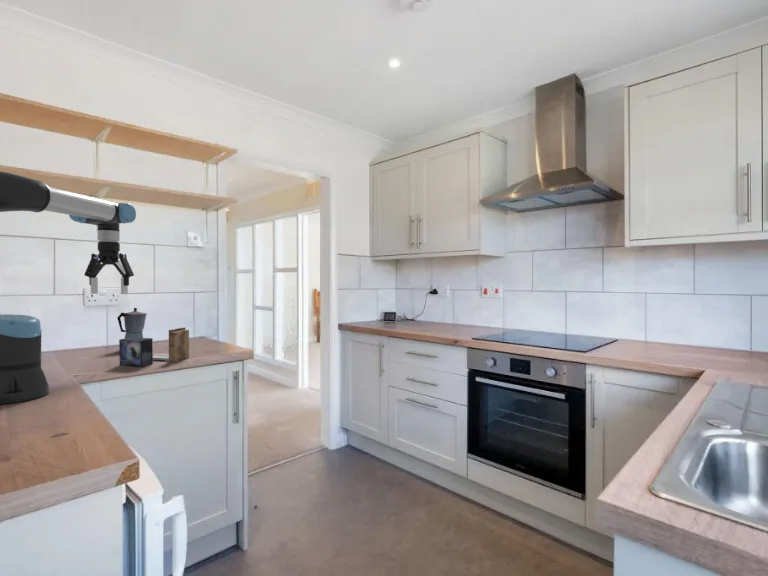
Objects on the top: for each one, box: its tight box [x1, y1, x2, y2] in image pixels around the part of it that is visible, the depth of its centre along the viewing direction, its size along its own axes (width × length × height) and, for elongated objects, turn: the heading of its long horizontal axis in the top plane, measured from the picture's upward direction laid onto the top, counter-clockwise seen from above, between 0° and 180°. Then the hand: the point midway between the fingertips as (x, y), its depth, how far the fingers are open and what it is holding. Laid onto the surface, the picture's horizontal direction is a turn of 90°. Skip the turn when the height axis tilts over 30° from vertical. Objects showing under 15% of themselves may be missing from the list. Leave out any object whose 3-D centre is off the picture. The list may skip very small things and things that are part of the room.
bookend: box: [153, 326, 190, 363], centre depth 176 cm, size 10×16×13 cm, turn 82°
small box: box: [118, 337, 154, 368], centre depth 163 cm, size 11×6×10 cm, turn 76°
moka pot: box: [116, 307, 148, 339], centre depth 201 cm, size 10×15×20 cm, turn 164°
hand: (109, 293), depth 168 cm, fingers open, 13 cm apart
